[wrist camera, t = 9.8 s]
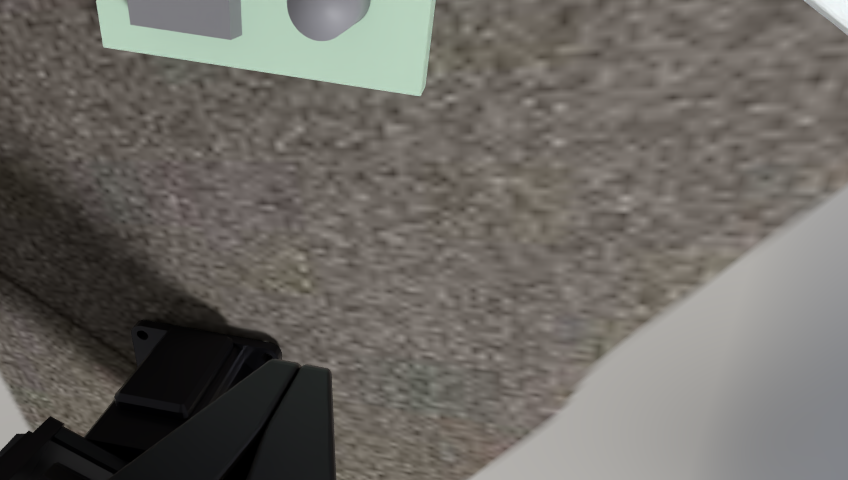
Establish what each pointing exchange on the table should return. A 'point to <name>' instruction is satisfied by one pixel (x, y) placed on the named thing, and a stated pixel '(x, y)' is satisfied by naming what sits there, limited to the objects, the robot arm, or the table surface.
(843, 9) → the external hard drive
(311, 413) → the robot arm
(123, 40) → the board
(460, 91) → the table surface
